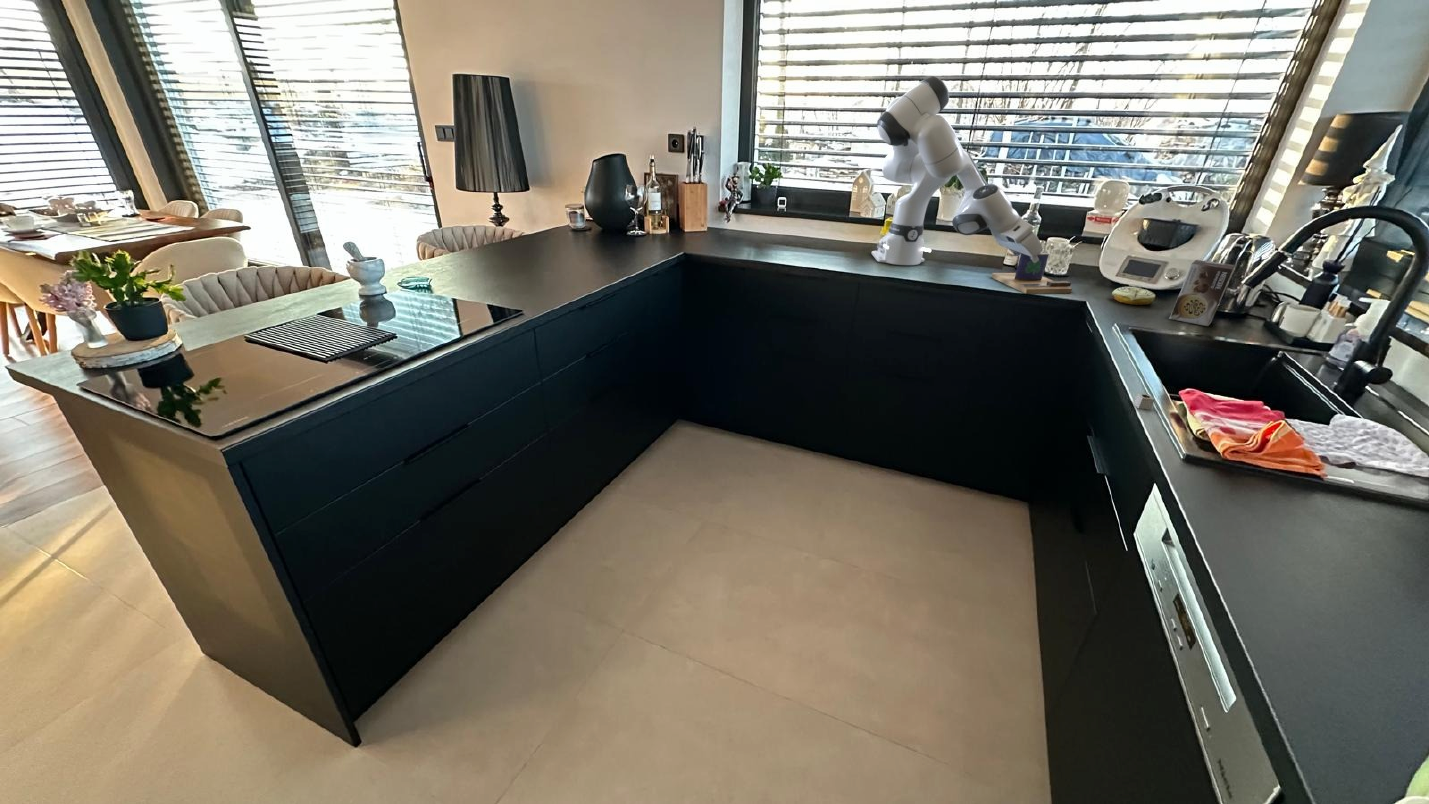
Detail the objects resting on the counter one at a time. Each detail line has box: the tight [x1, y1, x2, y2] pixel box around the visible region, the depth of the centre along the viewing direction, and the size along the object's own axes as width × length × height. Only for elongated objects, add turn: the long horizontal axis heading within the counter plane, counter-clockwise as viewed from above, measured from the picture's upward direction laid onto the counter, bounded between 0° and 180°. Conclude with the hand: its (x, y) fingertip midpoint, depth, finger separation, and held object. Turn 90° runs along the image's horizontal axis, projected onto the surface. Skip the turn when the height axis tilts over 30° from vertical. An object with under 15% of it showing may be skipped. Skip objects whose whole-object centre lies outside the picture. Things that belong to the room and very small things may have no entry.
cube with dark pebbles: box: [1133, 393, 1156, 411], centre depth 109 cm, size 2×2×2 cm
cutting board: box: [990, 272, 1073, 295], centre depth 188 cm, size 20×16×2 cm
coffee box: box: [1168, 259, 1237, 327], centre depth 154 cm, size 9×6×16 cm
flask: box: [1015, 252, 1050, 281], centre depth 186 cm, size 9×3×11 cm, turn 91°
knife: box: [1022, 280, 1072, 287], centre depth 182 cm, size 2×16×1 cm, turn 97°
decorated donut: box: [1111, 286, 1156, 306], centre depth 173 cm, size 10×11×4 cm
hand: (1026, 257), depth 185 cm, fingers open, 8 cm apart
